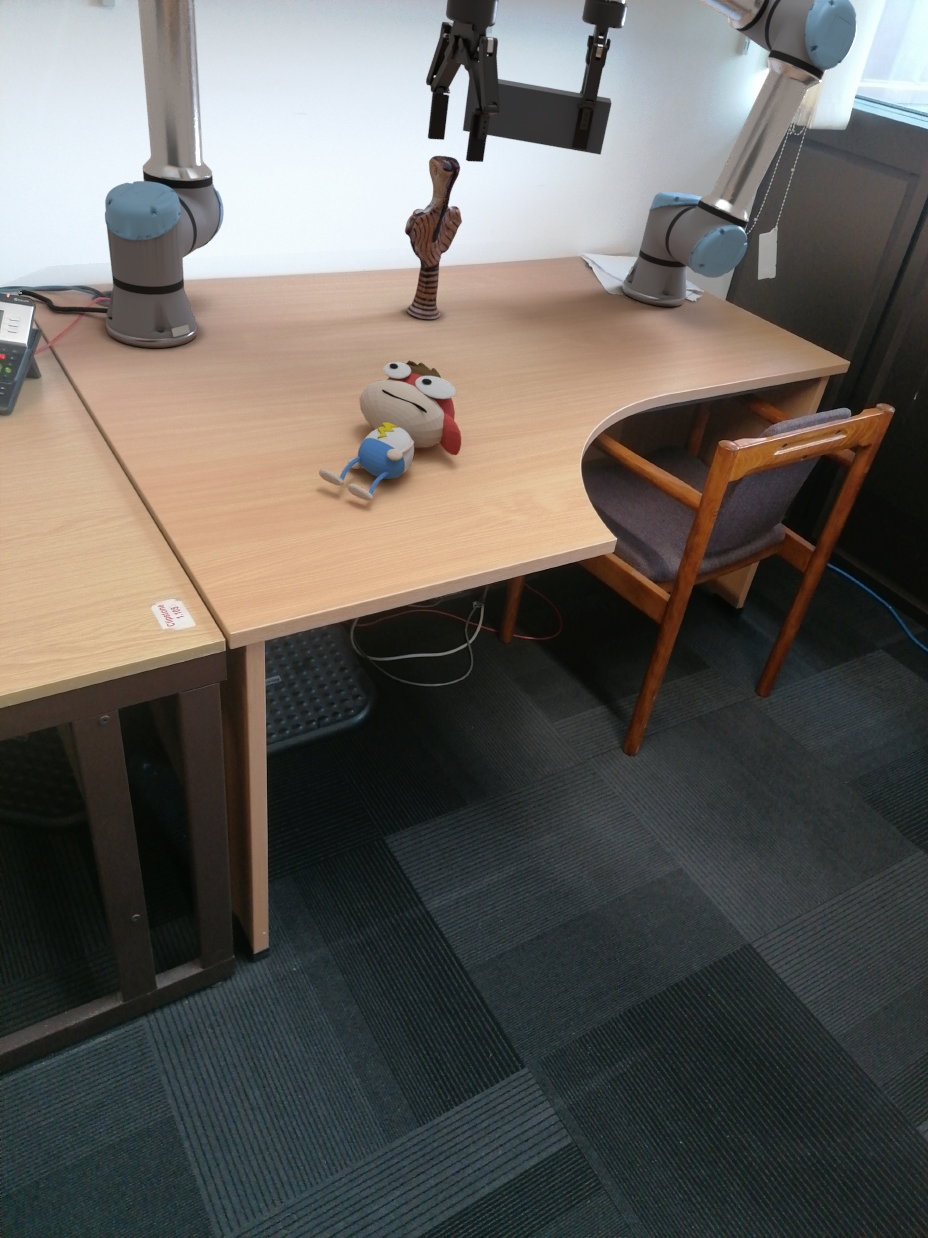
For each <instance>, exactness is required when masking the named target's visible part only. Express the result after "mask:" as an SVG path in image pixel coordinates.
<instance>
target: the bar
mask: <svg viewBox="0 0 928 1238" xmlns="http://www.w3.org/2000/svg"><path fill="white" fill-rule="evenodd" d="M498 86H499V102H500V112H499V113H498V114H493V115H492V116H490V119H489V126H488V133H487V136H491V137H496V138H502V139H508V140H515V141H520V142H524V143H531V144H538V145H543V146H548V147H553V148H554V147H555V148H560V149H566V150H572V151H577V152H583V153H589V154H594V155H601V154H602V150H603V145H604V142H605V136H606V131H607V127H608V122H609V118H610V113H611V109H612V100H611V98H609V97H605V96H599V95H597V100H596V106H595V109H594V113H593V118H592V123H591V128H590V133H589V138H588V143H587V148H586V150H585V149H579V148H573V147H572V144H573V139H574V133H575V128H576V123H577V118H578V113H579V108H576V107H577V104H581V102H582V97H583V94H582V93H580V92H576V91H571V90H570V91H569V90H564V89H559V88H553V87H548V86H541V85H535V84H532V83H531V84H530V83H524V82H520V81H519V82H518V81H513V80H506V79H501V78H498ZM492 104H493V102H492ZM481 106H482V104H481ZM464 109H465V110H464V116H463V117H464V118H463V124H462V125H463V127H462V132H467V133H468V132H470V125H471V117H472V111H473V110H474V109H475V106H474V101H473V95H472V90H471V85H470V79H469V78H468V86H467V92H466V102H465V108H464Z"/></svg>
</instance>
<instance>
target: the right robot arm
mask: <svg viewBox="0 0 928 1238" xmlns="http://www.w3.org/2000/svg"><path fill="white" fill-rule="evenodd" d="M698 1H699V2H700V3H703V4H704V5H706V6H707V7H709V8H711V9H713V10H714V11H716V12H718V13H720V14H721V15H722V16H724V17H726V18H727V22H728V24H729V26H730V27H731V28H733V29H734V30H736V31H737V32H739V33H740V34H742V35H744V36H745V37H747V38H748V39H749V40H751V41H752V42H753V43H755V44H756V45H758V46H759V47H761V48H762V49H764V50H765V51H767V52H769V54H768V56H767V58H766V61H767V66H768V73H767V76H766V77H765V80H764V82H763V84H762V85H761V88H760V90H759V92H758V94H757V96H756V98H755V99H754V103H753V104H752V106H751V109H750V110H749V113H748V115H747V116H746V119H745V121H744V123H743V125H742V128H741V129H740V132H739V134H738V135H737V137H736V139H735V141H734V144H733V146H732V148H731V150H730V152H729V154H728V156H727V158H726V160H725V163H724V165H723V167H722V169H721V171H720V173H719V175H718V177H717V179H716V181H715V183H714V185H713V187H712V188H711V192H710V193H709V194H707V195H704V196H700V195H696V194H693V193H692V194H691V193H685V192H676V191H661V192H658V193H656V194H655V195H654V197H653V200H652V202H651V205H650V207H649V211H648V215H647V220H646V224H645V228H644V231H643V232H644V233H643V236H642V240H641V244H640V249H639V252H638V256H637V258H636V260H635V261H634V263H633V265H632V266H631V267H630V269H629V270H628V274H627V275H626V277H625V278H624V279H623V284H622V288H621V290H622V291H623V293H624V294H625V295H626V296H628V297H630V298H631V299H633V300H635V301H638V302H641V303H644V304H647V305H651V306H658V307H666V308H669V307H670V308H673V307H679V306H682V305H684V304H685V301H686V297H687V268H689V269H690V270H691V271H692V272H693V273H695V274H698V275H701V276H704V277H706V278H710V279H714V278H715V279H716V278H719V277H722V276H724V275H725V274H728V273H730V272H731V271H733V270H734V269H735V268H737V266H738V265H739V264H740V263H741V261H742V259H743V258H744V256H745V254H746V252H747V248H748V242H747V241H748V236H747V233H746V232H745V230H746V228H747V226H748V224H749V222H750V218H749V214H748V208H749V207H750V205H751V202H752V200H753V198H754V197H755V194H756V192H757V190H758V189H759V187H760V185H761V183H762V181H763V179H764V177H765V175H766V172H767V171H768V169H769V167H770V165H771V163H772V161H773V159H774V157H775V155H776V153H777V152H778V149H779V147H780V145H781V143H782V141H783V140H784V138H785V135H786V133H787V132H788V130H789V127H790V126H791V124H792V122H793V119H794V118H795V116H796V113H797V112H798V110H799V108H800V106H801V104H802V103H803V100H804V98H805V96H806V94H807V92H808V90H809V89H811V88H812V87H815V86H816V85H818V84H820V83H821V82H822V80H823V77H824V75H825V74H826V71H828V70H832V69H834V68H836V67H837V66H838V65H839V64H841V63H842V62H844V60H845V59H846V58H847V57H848V55H849V54H850V52H851V50H852V48H853V45H854V43H855V40H856V36H857V29H858V21H857V12H856V10H855V6H854V5H853V3H852V1H850V0H698ZM628 7H629V6H628V4H627V3H626V0H584V5H583V10H582V11H583V12H582V16H581V20H582V22H584V23H586V24H588V25H592V26H594V29H593V32H592V35H590V34H589V35H588V38H587V42H586V47H587V48H586V54H585V62H584V63H585V67H584V73H583V79H582V83H581V87H580V88H581V89H580V91H579V93H582V94H583V97H582V102H581V104H577V107H576V108H579V113H578V118H577V123H576V128H575V133H574V139H573V144H572V147H573V148H579V149H585V150H586V148H587V143H588V138H589V133H590V128H591V123H592V118H593V113H594V109H595V106H596V100H597V96H599V95H598V94H599V89H600V84H601V78H602V74H603V70H604V67H606V63H607V62H606V61H607V57H608V52H609V51H610V48H611V42H612V41H611V38H608V36H609V30H610V29H616V30H617V29H620V30H621V29H622V28H624V25H625V22H626V16H627V12H628Z"/></svg>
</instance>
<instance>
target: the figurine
mask: <svg viewBox="0 0 928 1238" xmlns="http://www.w3.org/2000/svg"><path fill="white" fill-rule="evenodd" d="M428 171H429V176H430V179H431V182H432V196H431V197H432V199H431V200H430V202H429V204H427V205H426V206H425V208H416V209H414V210H413V212H412V214H410V216H409V218H408V219H407V221H406V223H405V224H406V225H405V228H404V233H405V235H407V236H408V237H409V242H410V247H411V248H412V251H413V253H414V254H415V255H414V256H416V257H417V258H418V259H419V262H420V269H419V273H418V278H417V279H418V280H417V285H416V291H415V294H414V297H413V299H412V302H411V303H410V305H409V306H408V307H407V308H406V311H407V314H409V315H411V316H413V317H416V318H418V319H421V320H422V319H423V320H436V319H438V318H439V317H441V312H440V311H439V309H438V307H437V296H438V290H439V289H438V288H439V277H440V262H441V258H442V255H443V254H444V253H446V252H448V250H449V249H450V247H451V245H452V243H453V241H454V239H455V237H456V235H457V233H458V230H459V228H460V226H461V224H462V223H463V220H462V216H461V214H462V213H461V210H460V208H459V207H458V206H456V205H451V206H449V203H450V198H451V194H452V191H453V188H454V185H455V183H456V181H457V179H458V178H459V175H460V171H461V165H460V163H459V161H458V159H457V158H455V157H452V156H446V155H434V156H432V157H431V158H430V159H429V161H428Z"/></svg>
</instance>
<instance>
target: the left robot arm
mask: <svg viewBox="0 0 928 1238" xmlns="http://www.w3.org/2000/svg"><path fill="white" fill-rule="evenodd" d="M137 5H138V7H137V8H138V17H139V18H138V19H139V28H140V29H139V31H140V41H141V53H142V54H141V55H142V64H143V65H142V66H143V76H144V77H143V78H144V91H145V100H146V113H147V125H148V127H147V128H148V139H149V150H150V157H149V159H147V160H146V162H145V163H144V164H143V165H142V175H143V176H142V178H143V180H136V181H133V182H132V183H131V182H124V183H120V184H118V185H116V186H114V187H113V188H111V189H110V190H109V191H108V192H107V194H106V196H105V201H104V202H105V203H104V204H105V205H104V206H105V211H104V221H105V224H106V233H107V241H108V250H109V259H110V268H111V277H112V291H111V295H110V300H109V303H108V307H94V306H93V307H91V306H60V305H55V304H54V301H52V299H51V298H49V297H46V296H44V295H43V294H40V293H37V292H35V291H31V290H29V289H28V290H27V289H21V290H22V291H20V292H22V294H19V296H28V297H31V298H34V299H35V300H38V301H41V302H43V303H45V304H47V307H48V308H49V310H52V311H55V312H58V313H59V312H61V313H91V314H92V313H95V314H106V315H105V326H106V328H105V329H106V332H107V334H108V335H109V336H110V337H111V338H112V339H114V340H116V341H117V342H120V343H123V344H126V345H130V346H133V347H140V348H152V349H157V348H160V349H163V348H171V347H177V346H182V345H184V344H187V343H189V342H191V341H193V340H194V339H195V338H196V337H197V335H198V324H197V320H196V317H195V315H194V311H193V309H192V306H191V304H190V300H189V298H188V296H187V293H186V290H185V278H184V260H183V259H184V258H185V257H187V256H189V255H190V254H192V253H193V252H195V251H196V250H197V249H200V248H203V247H205V246H206V245H208V244H209V242H211V241H212V240H213V239H214V238H215V236H216V235H217V234H218V233H219V231H220V230H221V227H222V224H223V221H224V215H225V214H224V213H225V212H224V211H225V210H224V203H223V200H222V197H221V194H220V193H219V190H217V189H216V188H215V185H214V179H213V171H212V169H211V168H210V167H209V166H208V165H207V164H206V163H205V161H204V157H203V155H204V154H203V138H202V137H203V136H202V114H201V97H200V77H199V76H200V75H199V56H198V55H199V54H198V40H197V38H198V37H197V36H198V35H197V17H196V0H137ZM498 6H499V0H446V8H445V9H446V10H445V17H446V18H447V19H448V20H449V21H452V22H449V21H442V22H441V25H440V32H439V38H438V41H437V44H436V47H435V51H434V53H433V57H432V60H431V63H430V67H429V70H428V73H427V76H426V79H425V84H426V86H429V87H430V92H431V93H432V94H431V103H430V112H429V113H430V114H429V122H428V133H427V139H429V140H440V141H442V140H444V141H445V136H446V129H447V128H446V126H447V119H448V112H449V111H448V108H449V101H450V95H449V94H451V90H450V87H451V84H452V82H453V80H454V79H455V77H456V75H457V73H458V71H459V70H460V69H461V66H463V67H464V70H465V71H467V74H468V80H469V79H470V85H471V90H472V95H473V101H474V106H475V109H474V110H473V111H472V117H471V125H470V132H469V134H468V141H467V149H466V155H465V161H467V162H475V163H476V162H477V163H483V162H484V158H485V152H486V151H485V150H486V144H487V138H488V135H487V133H488V126H489V119H490V116H492V115H493V114H498V113H499V112H500V102H499V86H498V79H499V72H498V71H499V70H498V57H497V56H498V45H499V39H498V38H497V37H492V36H488V35H487V31H488V28H489V27H493V26H495V25H496V22H497V16H498V15H497V14H498V8H499V7H498ZM492 102H493V104H492ZM481 104H482V106H481Z"/></svg>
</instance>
